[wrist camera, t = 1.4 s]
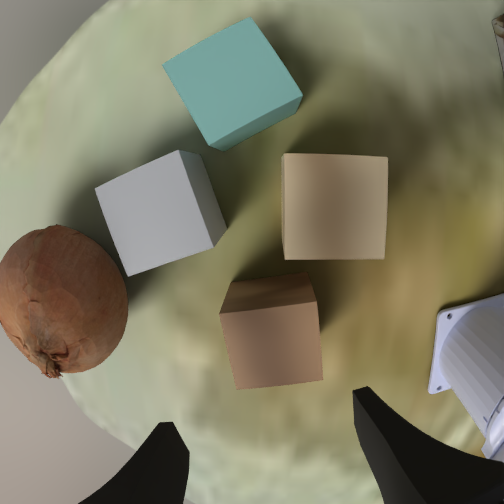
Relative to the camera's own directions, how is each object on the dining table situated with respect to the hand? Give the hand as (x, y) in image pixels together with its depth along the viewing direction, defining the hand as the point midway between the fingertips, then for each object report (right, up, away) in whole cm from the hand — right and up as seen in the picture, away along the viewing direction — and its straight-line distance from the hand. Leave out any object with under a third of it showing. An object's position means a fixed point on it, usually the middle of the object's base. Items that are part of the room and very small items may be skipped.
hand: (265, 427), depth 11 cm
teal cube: (-1, +16, +7) cm, 18 cm away
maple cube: (+4, +10, +8) cm, 14 cm away
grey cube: (-5, +10, +9) cm, 14 cm away
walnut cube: (+1, +3, +10) cm, 11 cm away
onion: (-12, +5, +11) cm, 17 cm away
